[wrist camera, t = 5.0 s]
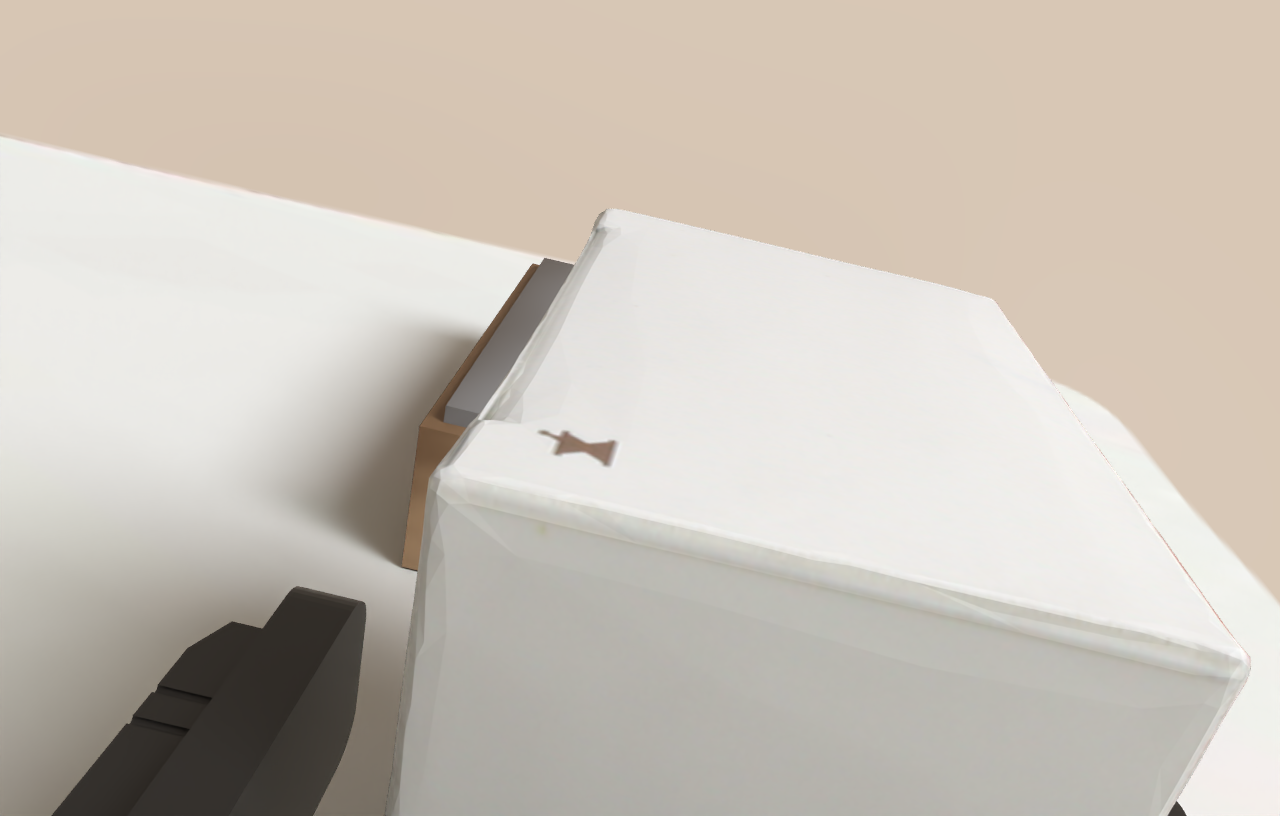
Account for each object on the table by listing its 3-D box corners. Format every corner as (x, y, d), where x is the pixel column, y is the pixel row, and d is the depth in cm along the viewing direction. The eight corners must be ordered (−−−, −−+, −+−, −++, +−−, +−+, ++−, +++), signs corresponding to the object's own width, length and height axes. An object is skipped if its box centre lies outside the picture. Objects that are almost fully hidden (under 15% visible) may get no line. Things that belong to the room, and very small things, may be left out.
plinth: (401, 567, 22) (422, 409, 21) (514, 365, 33) (534, 251, 32) (923, 689, 22) (986, 542, 21) (866, 448, 33) (904, 338, 32)
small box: (815, 1447, 11) (1297, 686, 6) (304, 1314, 11) (412, 470, 6) (795, 841, 18) (1010, 289, 13) (491, 764, 18) (602, 193, 13)
